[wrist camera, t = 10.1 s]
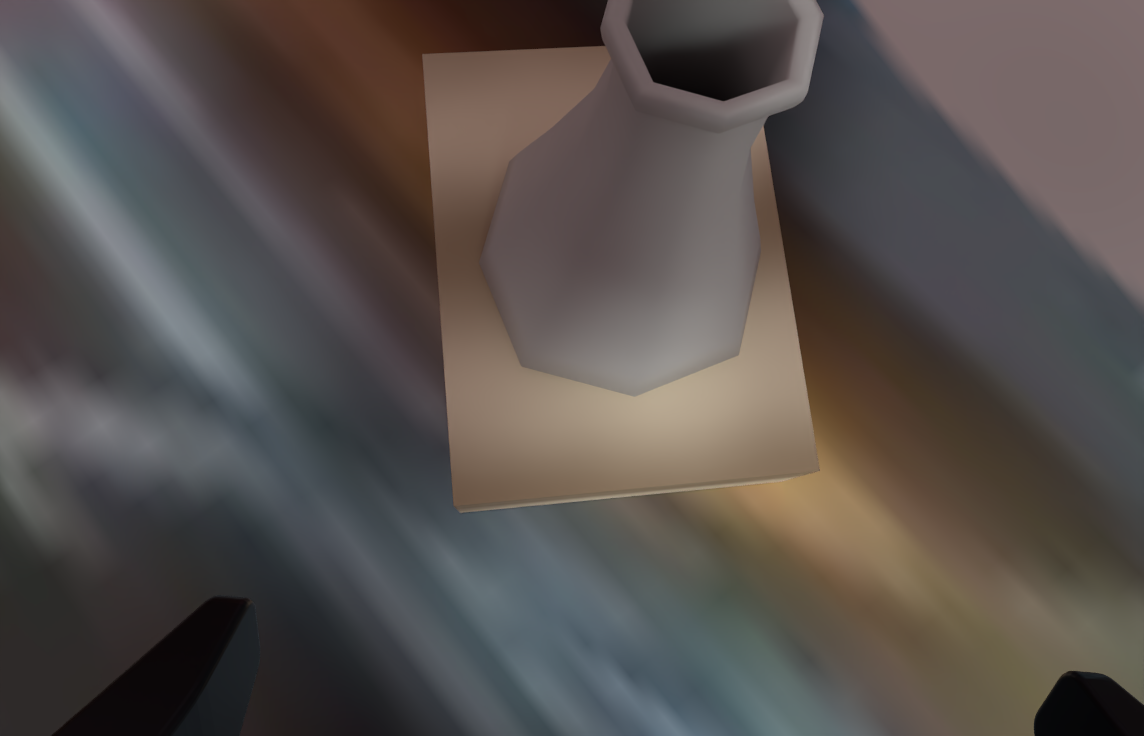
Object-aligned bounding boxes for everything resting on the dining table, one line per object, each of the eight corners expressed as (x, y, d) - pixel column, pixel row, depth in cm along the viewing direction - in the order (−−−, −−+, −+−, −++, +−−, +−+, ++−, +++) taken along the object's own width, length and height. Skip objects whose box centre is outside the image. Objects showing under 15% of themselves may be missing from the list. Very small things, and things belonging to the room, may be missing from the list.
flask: (486, 406, 20) (468, 269, 11) (472, 136, 22) (446, -200, 12) (775, 390, 21) (1004, 247, 11) (741, 128, 23) (919, -196, 13)
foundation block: (781, 481, 24) (820, 470, 21) (460, 513, 23) (453, 506, 20) (722, 97, 26) (749, 39, 23) (432, 112, 25) (422, 54, 22)
